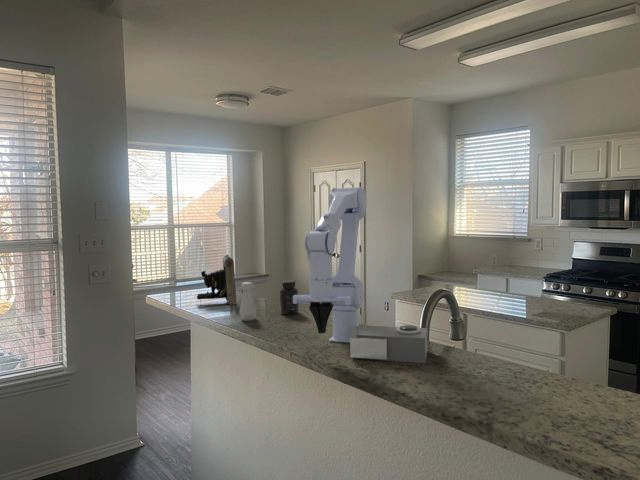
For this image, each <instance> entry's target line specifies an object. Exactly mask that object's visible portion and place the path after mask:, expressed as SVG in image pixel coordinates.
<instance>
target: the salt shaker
mask: <svg viewBox="0 0 640 480" xmlns="http://www.w3.org/2000/svg"><path fill="white" fill-rule="evenodd" d="M254 287H255V286H254V283H253V282H251V281H246V282H242V283H241V285H240V289H241V290H242V295H241V300H240V301H241V303H240V307H239V308H240V309H239V316H240V317H241V319H242V321H247V322H248V321H250V322H251V321H254V320H255V318H256V316H257V307H256V302H255V297H254V294H253V289H254Z"/></svg>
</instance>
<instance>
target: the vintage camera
mask: <svg viewBox="0 0 640 480" xmlns="http://www.w3.org/2000/svg"><path fill="white" fill-rule="evenodd" d="M222 266H223V269H219V270H216V271H213V272H210V273H208V274H207V273H206V270H203V271H200V274H201V277H203V282H204V285H205V287H206V288H207V289H209V288H210V289H211V291H210V292H209V291H206V293H198V294H197V295H196V299H197V300H200V301H199V302H200V305H199V306H201V301H202V300H213V299H215V300H217V299H225V300H226V302H227V303H228V305H230V306H234V305H236V303H237V292H236V291H237V289H236V276H235V264H234V260H233V258H232V257H231V256H229V254H226V255H225V256H224V257H223V258H222ZM216 290H217V292H215V291H216Z"/></svg>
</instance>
